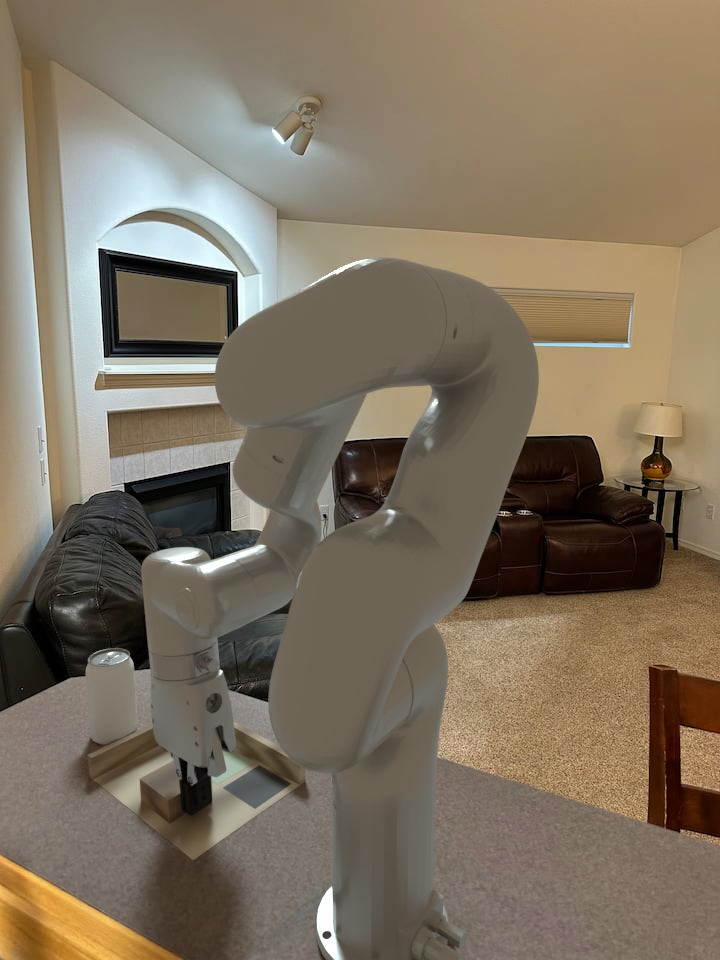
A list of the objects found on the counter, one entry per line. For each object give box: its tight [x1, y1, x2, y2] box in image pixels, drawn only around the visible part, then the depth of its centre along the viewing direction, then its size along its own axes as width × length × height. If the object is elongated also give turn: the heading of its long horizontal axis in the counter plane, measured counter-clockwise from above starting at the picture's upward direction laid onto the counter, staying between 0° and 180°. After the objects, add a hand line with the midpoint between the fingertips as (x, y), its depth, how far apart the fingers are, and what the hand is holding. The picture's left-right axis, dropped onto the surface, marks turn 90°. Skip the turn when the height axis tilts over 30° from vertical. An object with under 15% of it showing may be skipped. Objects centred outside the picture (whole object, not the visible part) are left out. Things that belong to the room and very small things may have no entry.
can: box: [85, 647, 139, 746], centre depth 92 cm, size 6×6×12 cm
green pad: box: [211, 750, 254, 784], centre depth 85 cm, size 8×6×1 cm
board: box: [86, 721, 306, 861], centre depth 81 cm, size 22×17×4 cm
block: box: [140, 761, 212, 824], centre depth 77 cm, size 6×6×3 cm
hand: (197, 806), depth 75 cm, fingers closed
